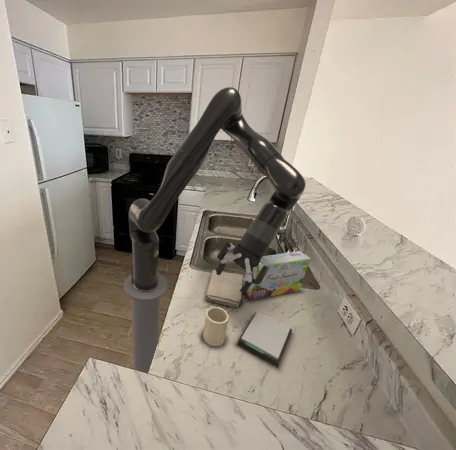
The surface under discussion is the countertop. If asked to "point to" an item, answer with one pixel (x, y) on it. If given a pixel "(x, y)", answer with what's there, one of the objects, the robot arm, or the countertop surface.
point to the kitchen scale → (265, 338)
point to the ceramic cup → (215, 326)
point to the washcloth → (225, 288)
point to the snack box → (279, 275)
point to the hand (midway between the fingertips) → (229, 282)
